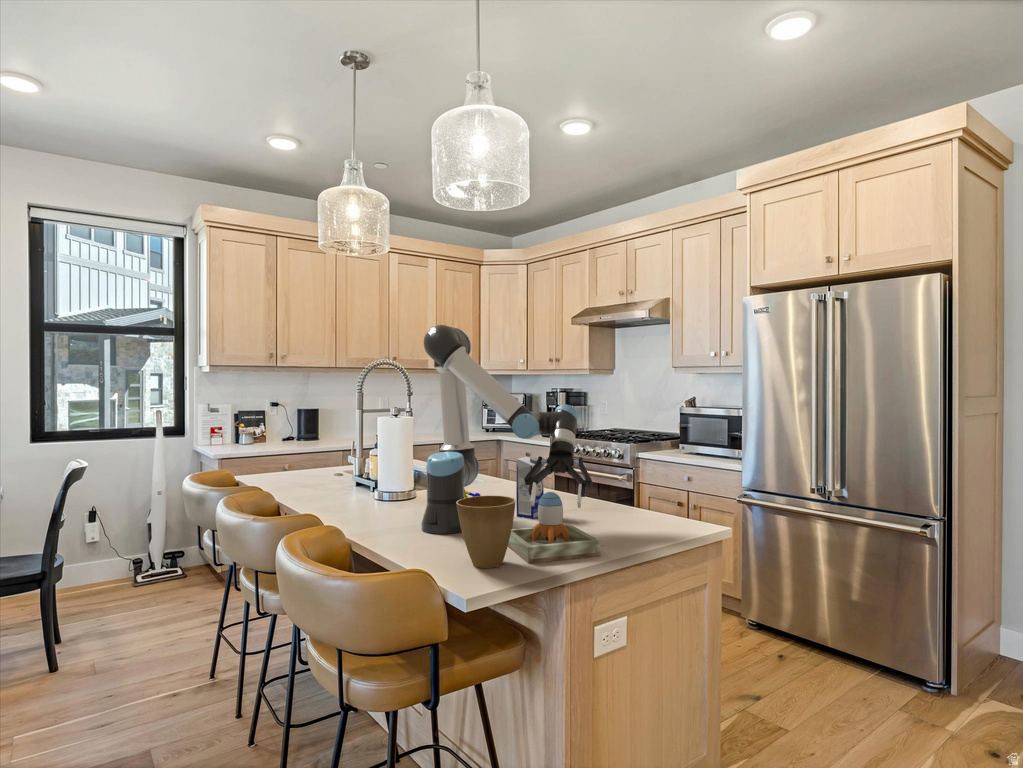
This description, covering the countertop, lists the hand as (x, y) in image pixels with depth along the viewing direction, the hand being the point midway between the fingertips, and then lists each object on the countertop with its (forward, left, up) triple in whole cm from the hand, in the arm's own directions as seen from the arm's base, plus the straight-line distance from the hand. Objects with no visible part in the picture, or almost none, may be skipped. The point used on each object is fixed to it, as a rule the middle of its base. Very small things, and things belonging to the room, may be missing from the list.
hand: (555, 504), depth 174 cm
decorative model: (-15, +57, -11) cm, 60 cm away
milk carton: (+4, +33, -11) cm, 35 cm away
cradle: (-5, -9, -10) cm, 14 cm away
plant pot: (-25, -16, -11) cm, 31 cm away
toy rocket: (-5, -8, -9) cm, 14 cm away
